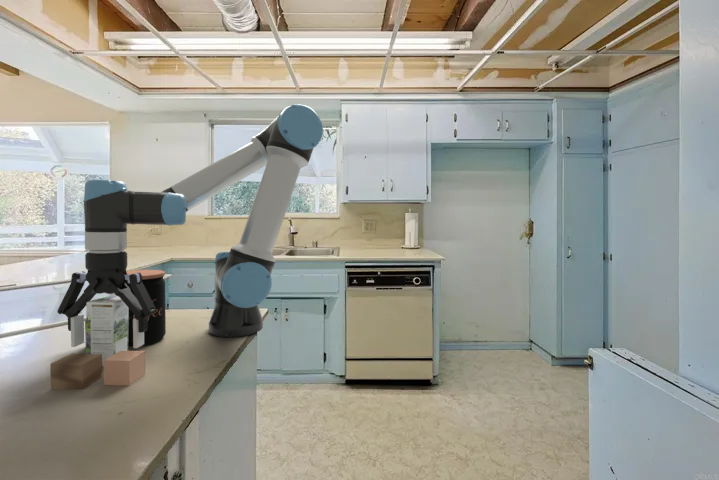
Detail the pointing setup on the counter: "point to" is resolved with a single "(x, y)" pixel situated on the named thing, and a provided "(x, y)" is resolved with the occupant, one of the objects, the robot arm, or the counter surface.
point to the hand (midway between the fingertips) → (108, 345)
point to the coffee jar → (157, 294)
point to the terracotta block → (124, 367)
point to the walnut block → (76, 371)
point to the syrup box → (106, 326)
